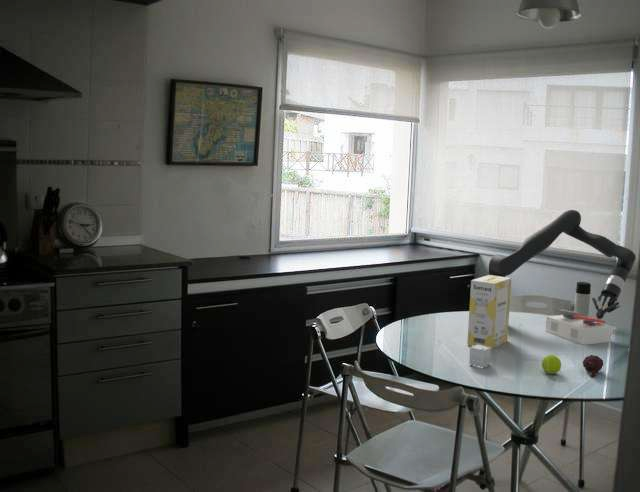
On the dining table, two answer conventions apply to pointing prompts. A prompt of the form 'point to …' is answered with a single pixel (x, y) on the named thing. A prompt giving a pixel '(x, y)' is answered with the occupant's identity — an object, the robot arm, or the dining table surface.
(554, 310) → the rocker
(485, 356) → the skincare box
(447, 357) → the dining table surface
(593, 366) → the icecream
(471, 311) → the pasta box
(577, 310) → the spray can
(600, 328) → the power strip
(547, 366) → the tennis ball
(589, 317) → the rocker
